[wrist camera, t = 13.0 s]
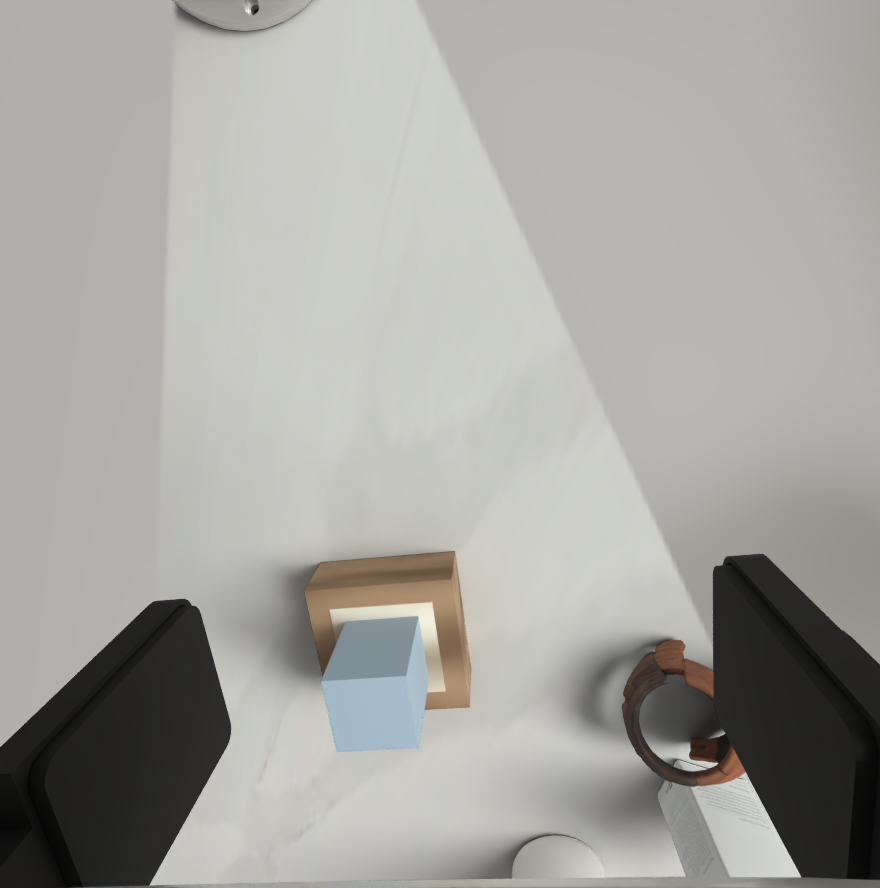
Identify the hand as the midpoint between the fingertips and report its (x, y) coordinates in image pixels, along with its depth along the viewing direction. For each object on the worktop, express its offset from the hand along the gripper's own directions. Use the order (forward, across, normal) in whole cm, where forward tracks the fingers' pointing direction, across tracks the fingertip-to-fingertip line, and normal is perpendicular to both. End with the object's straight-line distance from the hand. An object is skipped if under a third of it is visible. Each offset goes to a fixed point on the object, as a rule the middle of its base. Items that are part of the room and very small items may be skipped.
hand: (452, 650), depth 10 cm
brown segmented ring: (+29, -14, +25) cm, 40 cm away
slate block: (+24, +8, +17) cm, 31 cm away
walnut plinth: (+28, +8, +17) cm, 34 cm away
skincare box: (+28, -14, +34) cm, 47 cm away
